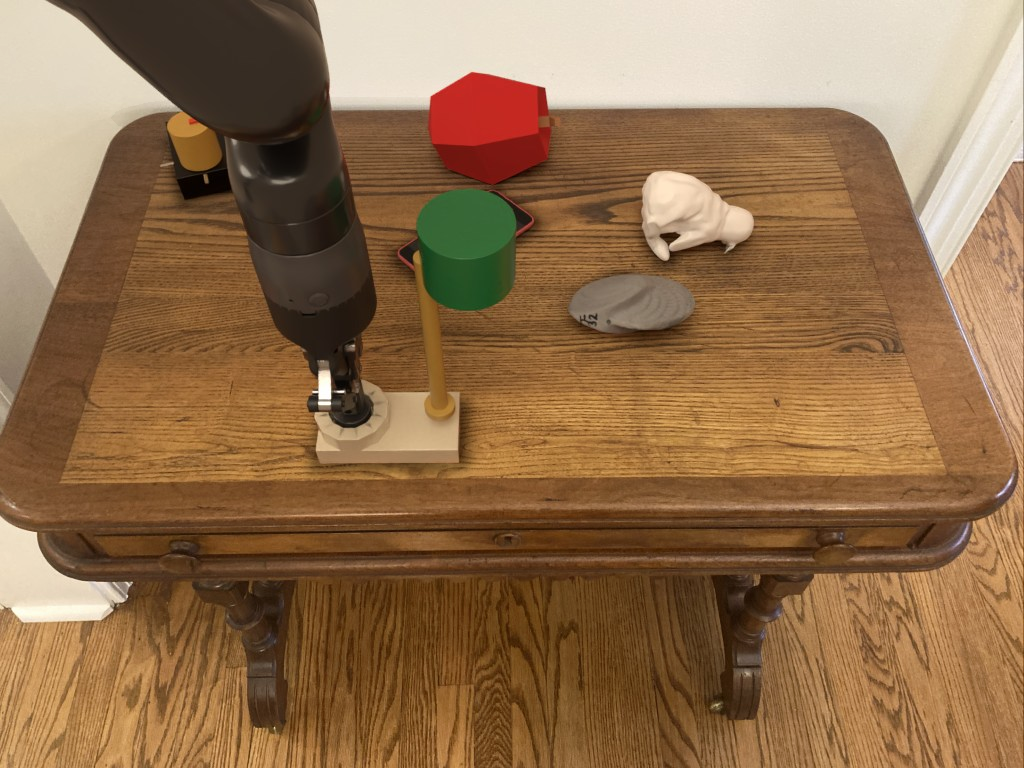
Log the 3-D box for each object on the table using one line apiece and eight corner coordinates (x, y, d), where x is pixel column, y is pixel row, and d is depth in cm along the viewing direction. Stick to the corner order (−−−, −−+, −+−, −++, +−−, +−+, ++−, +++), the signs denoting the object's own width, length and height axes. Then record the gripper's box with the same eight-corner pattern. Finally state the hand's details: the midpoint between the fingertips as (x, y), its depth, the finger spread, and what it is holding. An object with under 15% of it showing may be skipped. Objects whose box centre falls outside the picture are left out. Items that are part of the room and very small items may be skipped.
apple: (449, 129, 101) (574, 116, 98) (434, 205, 95) (568, 193, 92) (419, 43, 92) (557, 25, 88) (400, 121, 85) (548, 105, 82)
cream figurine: (646, 154, 84) (765, 165, 85) (628, 217, 91) (738, 228, 92) (651, 198, 80) (775, 210, 81) (631, 261, 87) (746, 271, 88)
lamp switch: (333, 434, 72) (329, 423, 71) (337, 403, 74) (334, 392, 73) (370, 434, 73) (368, 423, 71) (374, 403, 74) (371, 392, 73)
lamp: (422, 441, 70) (395, 259, 53) (426, 378, 74) (402, 188, 57) (513, 440, 70) (517, 259, 53) (513, 377, 74) (515, 188, 57)
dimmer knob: (183, 175, 90) (168, 138, 86) (178, 149, 93) (163, 112, 89) (225, 166, 91) (212, 129, 87) (219, 140, 94) (206, 103, 90)
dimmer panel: (174, 214, 91) (164, 191, 89) (162, 145, 98) (152, 123, 95) (280, 190, 93) (273, 167, 91) (261, 125, 100) (254, 102, 97)
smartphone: (393, 251, 87) (492, 186, 93) (393, 255, 88) (492, 190, 93) (438, 288, 84) (538, 219, 90) (438, 292, 85) (538, 223, 91)
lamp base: (319, 464, 74) (310, 440, 70) (327, 405, 77) (319, 379, 74) (459, 463, 74) (456, 439, 71) (460, 405, 77) (458, 379, 74)
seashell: (675, 373, 79) (710, 290, 84) (673, 339, 75) (710, 253, 79) (562, 342, 84) (600, 264, 88) (552, 308, 79) (593, 228, 83)
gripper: (273, 198, 62) (316, 345, 76) (241, 342, 54) (296, 476, 68) (377, 197, 62) (401, 344, 76) (360, 342, 54) (390, 475, 68)
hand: (351, 407), depth 72 cm, fingers closed
